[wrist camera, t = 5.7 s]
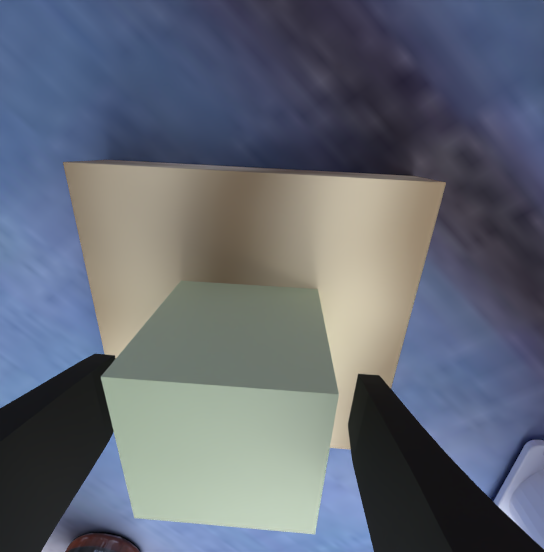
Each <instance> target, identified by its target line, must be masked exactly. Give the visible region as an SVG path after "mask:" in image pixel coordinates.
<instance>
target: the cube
mask: <svg viewBox="0 0 544 552" xmlns="http://www.w3.org/2000/svg"><path fill="white" fill-rule="evenodd" d="M101 381H102V385H103V389H104V393H105V397H106V401H107V406H108V410H109V414H110V418H111V422H112V427H113V431H114V435H115V439H116V443H117V447H118V452H119V456H120V460H121V464H122V468H123V472H124V477H125V481H126V485H127V489H128V493H129V497H130V502H131V506H132V510H133V514H134V518H141V519H152V520H163V521H174V522H185V523H196V524H207V525H218V526H229V527H240V528H251V529H262V530H274V531H285V532H296V533H307V534H315V531H316V525H317V519H318V513H319V508H320V502H321V496H322V490H323V484H324V478H325V473H326V467H327V461H328V455H329V449H330V443H331V438H332V432H333V426H334V420H335V414H336V409H337V403H338V397H339V392H338V387H337V382H336V377H335V372H334V367H333V362H332V357H331V352H330V347H329V342H328V337H327V332H326V328H325V323H324V318H323V313H322V308H321V303H320V298H319V293H318V289H309V288H293V287H276V286H260V285H244V284H227V283H211V282H195V281H180V282H179V284H178V285H177V286H176V287H175V288H174V290H173V291H172V292H171V293H170V294H169V296H168V297H167V298H166V299H165V300H164V302H163V303H162V304H161V305H160V306H159V308H158V309H157V310H156V311H155V312H154V314H153V315H152V316H151V317H150V318H149V320H148V321H147V322H146V323H145V324H144V326H143V327H142V328H141V329H140V330H139V332H138V333H137V334H136V335H135V336H134V338H133V339H132V340H131V341H130V342H129V344H128V345H127V346H126V347H125V348H124V350H123V351H122V352H121V353H120V354H119V355H118V357H117V358H116V359H115V360H114V361H113V363H112V364H111V365H110V366H109V367H108V369H107V370H106V371H105V372H104V373H103V375H102V376H101Z"/></svg>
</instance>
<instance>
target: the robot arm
mask: <svg viewBox="0 0 544 552" xmlns="http://www.w3.org/2000/svg"><path fill="white" fill-rule="evenodd" d="M114 360H115V355H104V354H94V355H92V356H90V357H88V358H86V359H84V360H82V361H81V362H79V363H77V364H75V365H74V366H72V367H70V368H68V369H67V370H65V371H63V372H62V373H60V374H58V375H57V376H55V377H53V378H52V379H50V380H48V381H46V382H45V383H43V384H41V385H40V386H38V387H36V388H35V389H33V390H31V391H29V392H28V393H26V394H24V395H23V396H21V397H19V398H17V399H16V400H14V401H12V402H11V403H9V404H7V405H5V406H4V407H2V408H0V552H41V551H42V549H43V547H44V546H45V544H46V542H47V540H48V539H49V537H50V535H51V534H52V532H53V530H54V529H55V527H56V525H57V524H58V522H59V521H60V519H61V517H62V516H63V514H64V513H65V511H66V509H67V508H68V506H69V505H70V503H71V501H72V500H73V498H74V497H75V495H76V493H77V492H78V490H79V489H80V487H81V485H82V484H83V482H84V481H85V479H86V477H87V476H88V474H89V473H90V471H91V470H92V468H93V466H94V465H95V463H96V461H97V460H98V458H99V457H100V455H101V453H102V452H103V450H104V448H105V447H106V445H107V443H108V442H109V440H110V438H111V436H112V434H113V432H114V431H113V427H112V422H111V418H110V414H109V410H108V406H107V401H106V397H105V393H104V389H103V385H102V381H101V376H102V375H103V373H104V372H105V371H106V370H107V369H108V367H109V366H110V365H111V364H112V363H113V361H114ZM348 432H349V440H350V447H351V454H352V461H353V466H354V470H355V475H356V479H357V483H358V487H359V491H360V496H361V500H362V504H363V508H364V512H365V516H366V520H367V524H368V528H369V533H370V537H371V541H372V545H373V549H374V552H544V440H531V441H529V442H527V443H526V444H525V446H524V447H523V449H522V451H521V453H520V455H519V456H518V458H517V460H516V462H515V464H514V465H513V467H512V469H511V471H510V473H509V474H508V476H507V478H506V480H505V482H504V483H503V485H502V487H501V489H500V491H499V492H498V494H497V496H496V498H495V500H494V501H492V500H491V499H490V498H489V497H488V496H487V495H486V494H485V493H484V492H483V491H482V490H481V489H480V488H479V487H478V486H477V485H476V484H475V483H474V482H473V481H472V480H471V479H470V478H469V477H468V476H467V475H466V474H465V473H464V472H463V471H462V470H461V469H460V468H459V466H458V465H457V464H456V463H455V462H454V461H453V460H452V459H451V458H450V457H449V456H448V455H447V454H446V453H445V452H444V450H443V449H442V448H441V447H440V446H439V445H438V444H437V443H436V441H435V440H434V439H433V438H432V437H431V436H430V435H429V433H428V432H427V431H426V430H425V429H424V428H423V427H422V426H421V424H420V423H419V422H418V421H417V420H416V419H415V417H414V416H413V415H412V414H411V413H410V411H409V410H408V409H407V408H406V407H405V405H404V404H403V403H402V402H401V401H400V399H399V398H398V397H397V396H396V395H395V393H394V392H393V391H392V390H391V389H390V387H389V386H388V385H387V384H386V383H385V381H384V380H383V379H382V378H381V377H380V375H369V374H358V377H357V382H356V386H355V391H354V396H353V401H352V406H351V411H350V416H349V421H348Z"/></svg>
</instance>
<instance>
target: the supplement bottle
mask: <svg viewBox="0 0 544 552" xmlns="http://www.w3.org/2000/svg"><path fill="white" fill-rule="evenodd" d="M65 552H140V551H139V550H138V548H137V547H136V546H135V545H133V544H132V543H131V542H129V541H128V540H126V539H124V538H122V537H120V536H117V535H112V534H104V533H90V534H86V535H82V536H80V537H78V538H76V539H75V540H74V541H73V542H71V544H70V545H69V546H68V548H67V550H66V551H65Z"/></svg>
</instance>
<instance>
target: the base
mask: <svg viewBox="0 0 544 552" xmlns="http://www.w3.org/2000/svg"><path fill="white" fill-rule="evenodd" d="M63 165H64V169H65V174H66V178H67V183H68V188H69V192H70V197H71V201H72V206H73V211H74V215H75V220H76V224H77V229H78V234H79V238H80V243H81V247H82V252H83V257H84V261H85V266H86V270H87V275H88V280H89V284H90V289H91V293H92V298H93V303H94V307H95V312H96V316H97V321H98V326H99V330H100V335H101V339H102V344H103V349H104V353H105V355H115V359H116V358H117V357H118V355H119V354H120V353H121V352H122V351H123V350H124V348H125V347H126V346H127V345H128V344H129V342H130V341H131V340H132V339H133V338H134V336H135V335H136V334H137V333H138V332H139V330H140V329H141V328H142V327H143V326H144V324H145V323H146V322H147V321H148V320H149V318H150V317H151V316H152V315H153V314H154V312H155V311H156V310H157V309H158V308H159V306H160V305H161V304H162V303H163V302H164V300H165V299H166V298H167V297H168V296H169V294H170V293H171V292H172V291H173V290H174V288H175V287H176V286H177V285H178V284H179V282H180V281H195V282H211V283H227V284H244V285H260V286H276V287H293V288H309V289H318V293H319V298H320V303H321V308H322V313H323V318H324V323H325V328H326V332H327V337H328V342H329V347H330V352H331V357H332V362H333V367H334V372H335V377H336V382H337V387H338V392H339V397H338V403H337V409H336V414H335V420H334V426H333V432H332V438H331V443H330V448H339V449H351V447H350V440H349V432H348V421H349V416H350V411H351V406H352V401H353V396H354V391H355V386H356V382H357V377H358V374H369V375H380V377H381V378H382V379H383V380H384V381H385V383H386V384H387V385H388V386H389V387H390V389H391V386H392V383H393V379H394V375H395V371H396V368H397V364H398V360H399V356H400V353H401V349H402V345H403V341H404V338H405V334H406V330H407V327H408V323H409V319H410V315H411V312H412V308H413V304H414V300H415V297H416V293H417V289H418V285H419V282H420V278H421V274H422V270H423V267H424V263H425V259H426V256H427V252H428V248H429V244H430V241H431V237H432V233H433V229H434V226H435V222H436V218H437V214H438V211H439V207H440V203H441V199H442V196H443V192H444V188H445V184H446V182H441V181H436V180H431V179H426V178H422V177H417V176H405V175H386V174H367V173H349V172H330V171H311V170H292V169H273V168H254V167H235V166H216V165H197V164H178V163H159V162H140V161H121V160H94V161H75V162H63Z"/></svg>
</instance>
